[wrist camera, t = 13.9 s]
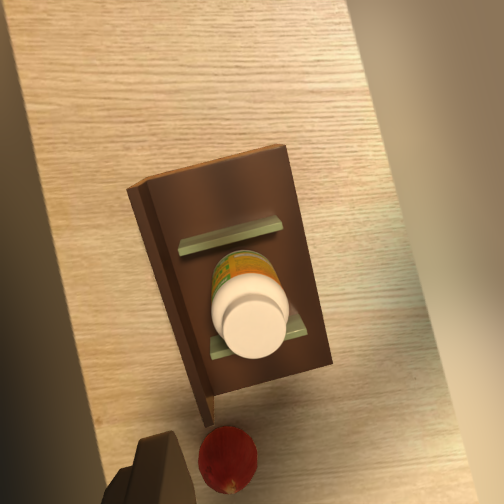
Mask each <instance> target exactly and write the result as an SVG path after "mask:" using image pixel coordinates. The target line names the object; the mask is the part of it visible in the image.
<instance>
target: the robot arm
mask: <svg viewBox="0 0 504 504" xmlns="http://www.w3.org/2000/svg"><path fill="white" fill-rule="evenodd" d="M101 504H197V503H196V495H195V490H194V485H193V482H192V479H191V476H190V473H189V470H188V468H187V465H186V462H185V459H184V456H183V454H182V451H181V448H180V445H179V442H178V439H177V437H176V435H175V433H174V432H173V431H172V430H171V431H168V432H164V433H160V434H156V435H153V436H149V437H145V438H142V439H140V440H139V442H138V445H137V449H136V453H135V457H134V461H133V465H132V466H129V467H125V468H121V469H120V470H119V471H118V473H117V474H116V475H115V477H114V478H113V480H112V481H111V483H110V484H109V485H108V487H107V488H106V490H105V492H104V496H103V499H102V502H101Z"/></svg>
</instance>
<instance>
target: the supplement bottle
mask: <svg viewBox="0 0 504 504" xmlns="http://www.w3.org/2000/svg"><path fill="white" fill-rule="evenodd" d="M211 314H212V320H213V324H214V327H215V329H216V330H217V332H218V333H219V335H220V336H221V337H222V338H223V339H224V340H225V342H226V344H227V346H228V347H229V348H230V349H231V350H232V351H233V352H234V353H235V354H237V355H239V356H241V357H244V358H249V359H257V358H262V357H265V356H268V355H270V354H271V353H273V352H274V351H276V350H277V349H278V348H279V346H280V345H281V344H282V342H283V340H284V338H285V334H286V323H287V321H288V316H289V304H288V300H287V297H286V294H285V292H284V290H283V288H282V286H281V284H280V281H279V279H278V277H277V275H276V272H275V270H274V268H273V266H272V265H271V263H270V262H269V261H268V260H267V259H266V258H265V257H264V256H263V255H261V254H259V253H257V252H254V251H250V250H240V251H235V252H232V253H230V254H228V255H226V256H225V257H224V258H222V259H221V260H220V261H219V263H218V264H217V266H216V267H215V269H214V272H213V276H212V289H211Z"/></svg>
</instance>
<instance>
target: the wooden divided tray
mask: <svg viewBox="0 0 504 504" xmlns="http://www.w3.org/2000/svg"><path fill="white" fill-rule="evenodd" d="M126 190H127V193H128V196H129V199H130V202H131V205H132V208H133V211H134V214H135V217H136V220H137V223H138V227H139V230H140V233H141V236H142V239H143V242H144V245H145V248H146V251H147V254H148V257H149V260H150V263H151V266H152V269H153V272H154V275H155V278H156V281H157V284H158V287H159V290H160V293H161V296H162V299H163V302H164V305H165V308H166V311H167V314H168V317H169V320H170V323H171V326H172V329H173V332H174V335H175V338H176V341H177V344H178V347H179V350H180V353H181V356H182V360H183V363H184V366H185V369H186V372H187V375H188V378H189V381H190V384H191V387H192V390H193V393H194V396H195V399H196V402H197V405H198V408H199V411H200V414H201V417H202V420H203V423H204V426H205V427H209V426H213V425H214V396H216V395H220V394H223V393H227V392H231V391H234V390H238V389H242V388H245V387H249V386H253V385H257V384H260V383H264V382H268V381H271V380H275V379H279V378H283V377H286V376H290V375H294V374H297V373H301V372H305V371H309V370H312V369H316V368H320V367H323V366H327V365H331V364H333V361H332V356H331V352H330V347H329V343H328V338H327V333H326V329H325V324H324V320H323V315H322V310H321V306H320V301H319V296H318V292H317V287H316V283H315V278H314V273H313V269H312V264H311V259H310V255H309V250H308V246H307V241H306V236H305V232H304V227H303V222H302V218H301V213H300V209H299V204H298V199H297V195H296V190H295V185H294V181H293V176H292V172H291V167H290V162H289V158H288V153H287V148H286V145H283V144H274V145H270V146H266V147H262V148H258V149H254V150H250V151H247V152H243V153H239V154H235V155H231V156H227V157H223V158H219V159H216V160H212V161H208V162H204V163H200V164H196V165H192V166H188V167H185V168H181V169H177V170H173V171H169V172H165V173H161V174H157V175H153V176H150V177H146V178H145V179H143V180H141V181H139V182H138V183H136V184H134V185H133V186H131V187H129V188H127V189H126ZM240 250H250V251H254V252H257V253H259V254H261V255H263V256H264V257H265V258H266V259H267V260H268V261H269V262H270V263H271V265H272V266H273V268H274V270H275V272H276V275H277V277H278V279H279V281H280V284H281V286H282V288H283V290H284V292H285V294H286V297H287V300H288V304H289V316H288V321H287V323H286V334H285V338H284V340H283V342H282V344H281V345H280V346H279V348H278V349H277V350H276V351H274V352H273V353H271V354H270V355H268V356H265V357H262V358H257V359H249V358H244V357H241V356H239V355H237V354H235V353H234V352H233V351H232V350H231V349H230V348H229V347H228V346H227V344H226V342H225V340H224V339H223V338H222V337H221V336H220V335H219V333H218V332H217V330H216V329H215V327H214V324H213V320H212V314H211V289H212V276H213V272H214V269H215V267H216V266H217V264H218V263H219V261H220V260H221V259H222V258H224V257H225V256H226V255H228V254H230V253H232V252H235V251H240Z"/></svg>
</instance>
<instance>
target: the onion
mask: <svg viewBox="0 0 504 504" xmlns="http://www.w3.org/2000/svg"><path fill="white" fill-rule="evenodd" d="M198 466H199V470H200V473H201V475H202V477H203V479H204V481H205V483H206V484H207V485H208V486H209V487H211V488H212V489H213V490H215V491H216V492H218V493H223V494H234V493H236V492H238V491H240V490H242V489H243V488H244V487H245V486H246V485H247V484H248V483H249V482H250V481H251V479H252V477H253V475H254V474H255V472H256V469H257V449H256V446H255V444H254V442H253V440H252V438H251V437H250V436H249V435H248V434H247V433H245V432H244V431H243V430H241V429H239V428H236V427H230V426H223V427H220V428H217V429H215V430H213V431H212V432H211V433H209V434H208V435H207V437H206V438H205V439H204V441H203V443H202V445H201V446H200V450H199V458H198Z"/></svg>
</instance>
